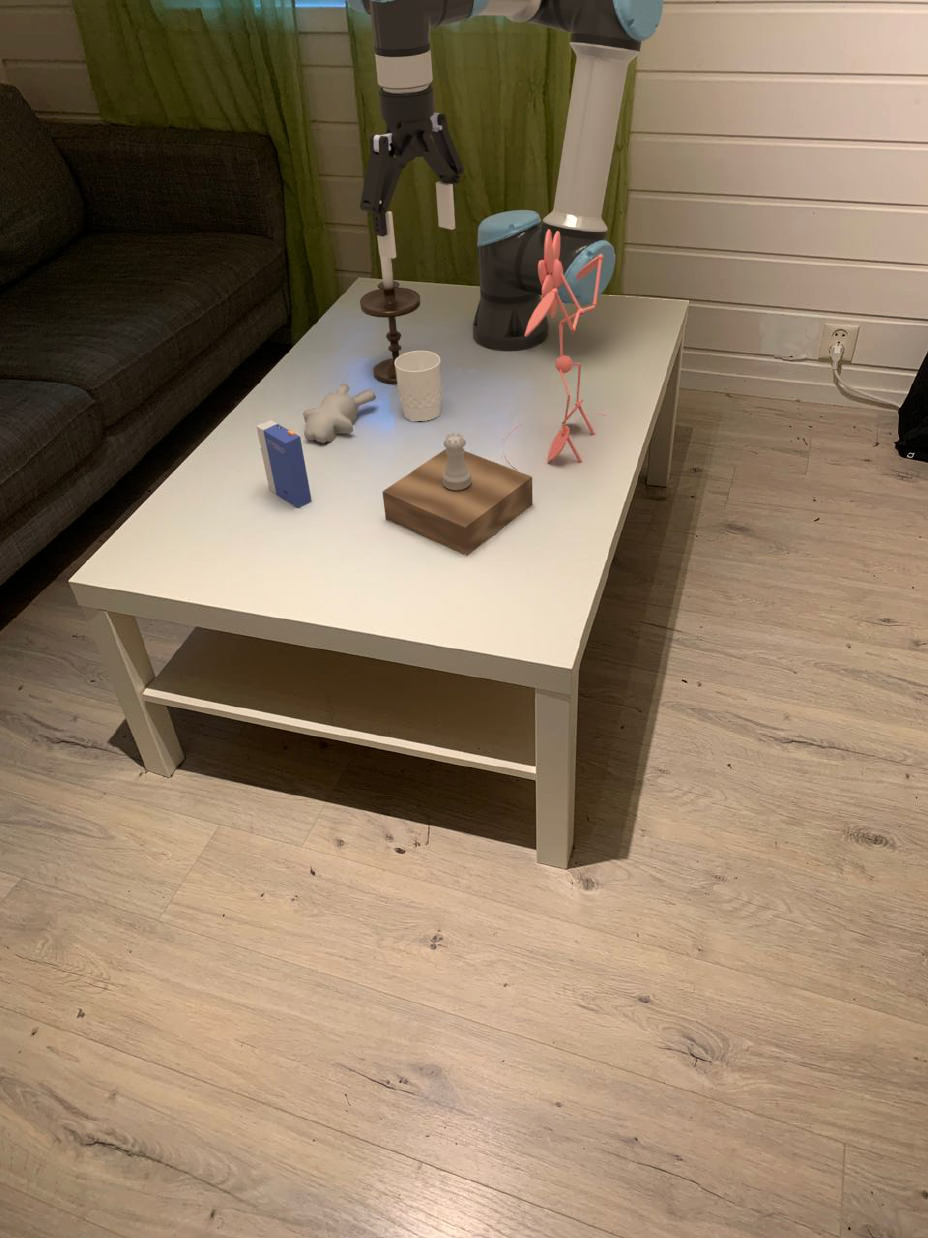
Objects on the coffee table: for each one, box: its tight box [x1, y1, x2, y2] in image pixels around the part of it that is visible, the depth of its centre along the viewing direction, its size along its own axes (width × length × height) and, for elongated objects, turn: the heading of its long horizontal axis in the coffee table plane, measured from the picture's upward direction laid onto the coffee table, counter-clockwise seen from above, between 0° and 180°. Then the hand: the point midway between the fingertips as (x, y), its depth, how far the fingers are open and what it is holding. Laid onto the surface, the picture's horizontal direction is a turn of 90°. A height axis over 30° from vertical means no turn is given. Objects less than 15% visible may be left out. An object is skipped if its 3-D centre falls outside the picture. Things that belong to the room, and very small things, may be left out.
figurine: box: [500, 229, 607, 471], centre depth 157 cm, size 15×26×35 cm, turn 162°
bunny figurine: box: [302, 383, 377, 444], centre depth 175 cm, size 10×5×15 cm
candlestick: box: [359, 201, 421, 385], centre depth 179 cm, size 11×11×35 cm
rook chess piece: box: [442, 432, 472, 491], centre depth 148 cm, size 4×4×8 cm
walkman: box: [256, 419, 312, 509], centre depth 156 cm, size 8×3×12 cm, turn 44°
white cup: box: [394, 350, 442, 422], centre depth 175 cm, size 8×8×10 cm
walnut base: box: [382, 447, 533, 556], centre depth 152 cm, size 16×16×5 cm
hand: (418, 241), depth 151 cm, fingers open, 13 cm apart
